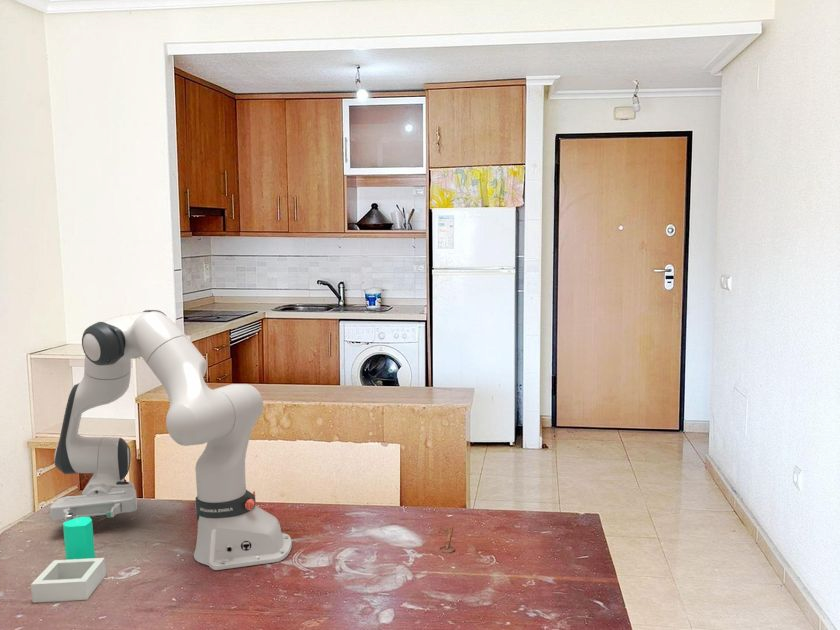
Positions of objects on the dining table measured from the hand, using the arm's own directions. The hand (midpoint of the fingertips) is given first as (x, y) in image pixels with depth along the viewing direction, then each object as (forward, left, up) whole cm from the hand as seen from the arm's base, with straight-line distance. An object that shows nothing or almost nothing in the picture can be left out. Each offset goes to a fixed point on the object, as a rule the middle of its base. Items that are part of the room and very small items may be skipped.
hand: (89, 516), depth 180 cm
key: (-86, +7, -8) cm, 87 cm away
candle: (-2, +11, -7) cm, 14 cm away
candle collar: (-4, +22, -7) cm, 24 cm away
